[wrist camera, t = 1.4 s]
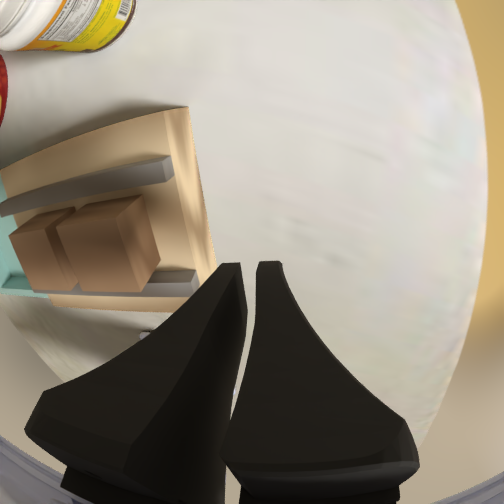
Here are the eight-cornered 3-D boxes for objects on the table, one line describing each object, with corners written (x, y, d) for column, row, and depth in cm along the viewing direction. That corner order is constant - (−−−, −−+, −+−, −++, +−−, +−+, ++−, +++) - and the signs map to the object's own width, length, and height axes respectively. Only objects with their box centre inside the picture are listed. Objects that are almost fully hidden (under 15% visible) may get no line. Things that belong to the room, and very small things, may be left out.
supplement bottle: (62, 27, 12) (-49, 24, 3) (116, -29, 10) (15, -71, 1) (96, 69, 14) (-29, 78, 5) (157, 9, 12) (48, -41, 3)
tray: (74, 279, 23) (57, 298, 20) (15, 278, 24) (1, 293, 22) (32, 155, 17) (7, 166, 14) (-21, 182, 19) (-40, 193, 16)
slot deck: (218, 276, 21) (203, 326, 17) (76, 278, 23) (46, 315, 19) (188, 106, 15) (153, 112, 11) (33, 154, 17) (-12, 175, 13)
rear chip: (94, 263, 17) (70, 290, 14) (56, 264, 17) (32, 289, 15) (74, 206, 15) (44, 228, 12) (36, 214, 15) (8, 235, 13)
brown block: (161, 260, 16) (141, 292, 13) (106, 262, 17) (82, 291, 14) (142, 194, 14) (115, 218, 11) (86, 203, 15) (55, 226, 12)
